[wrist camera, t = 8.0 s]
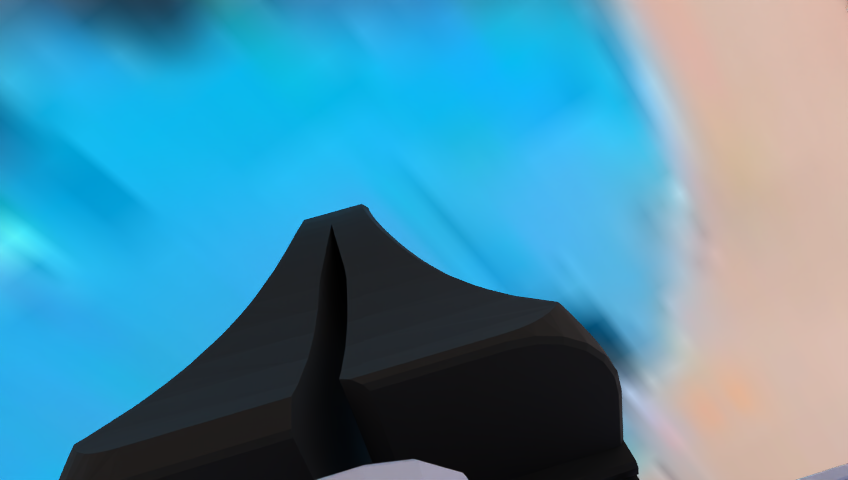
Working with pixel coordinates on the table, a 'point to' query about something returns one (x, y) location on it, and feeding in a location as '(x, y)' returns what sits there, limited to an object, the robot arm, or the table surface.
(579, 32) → the table surface
